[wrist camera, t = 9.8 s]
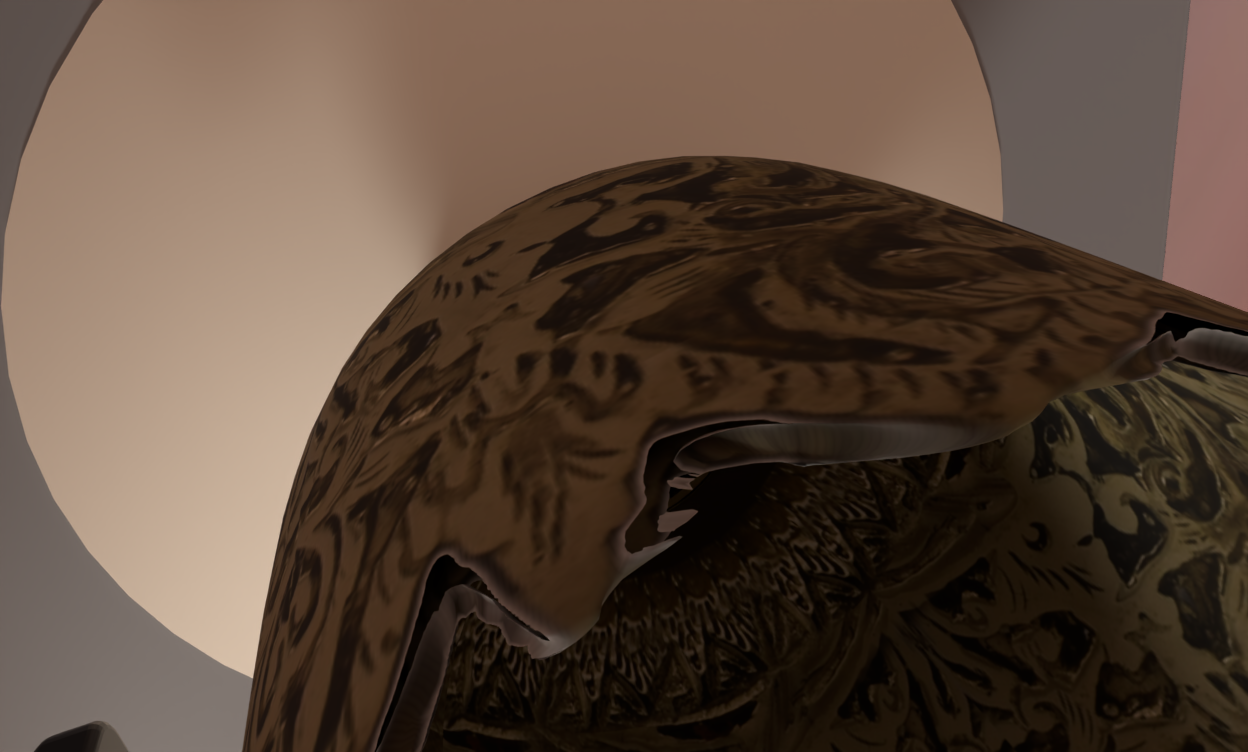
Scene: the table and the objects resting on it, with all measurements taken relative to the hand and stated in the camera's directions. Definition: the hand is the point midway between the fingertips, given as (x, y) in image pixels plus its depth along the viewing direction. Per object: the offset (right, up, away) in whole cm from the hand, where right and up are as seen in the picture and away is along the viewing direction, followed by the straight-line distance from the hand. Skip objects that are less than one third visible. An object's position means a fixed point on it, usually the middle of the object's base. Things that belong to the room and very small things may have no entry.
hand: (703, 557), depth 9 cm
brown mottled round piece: (-1, +2, +4) cm, 4 cm away
